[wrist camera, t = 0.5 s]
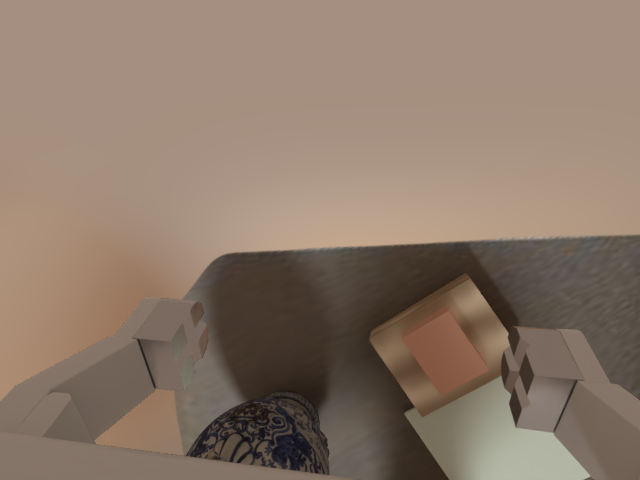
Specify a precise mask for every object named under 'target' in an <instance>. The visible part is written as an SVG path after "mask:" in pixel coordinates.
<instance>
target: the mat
mask: <svg viewBox="0 0 640 480" xmlns="http://www.w3.org/2000/svg"><path fill="white" fill-rule="evenodd" d="M510 398H511V394H510V393H509V392H508V391H507V390H506V389H505V388H504V385H503V381H502V376H500V377H498V378H496V379H495V380H493V381H491V382H489V383H487V384H485V385H483V386H481V387H479V388H477V389H476V390H474V391H472V392H470V393H468V394H466V395H464V396H462V397H460V398H458V399H457V400H455V401H453V402H451V403H449V404H447V405H445V406H443V407H441V408H439V409H438V410H436V411H434V412H432V413H430V414H428V415H426V416H424V417H421V415H420V414H419V412H418V411H417V409H416V408H415V407H413V408H411V409H410V410H408V411H406V412H404V414H405V416H406V417H407V419H408V420H409V422H410V423H411V425H412V426H413V428H414V429H415V431H416V432H417V433H418V435H419V436H420V438H421V439H422V441H423V442H424V444H425V445H426V447H427V448H428V450H429V451H430V452H431V454H432V455H433V457H434V458H435V460H436V461H437V463H438V464H439V466H440V467H441V468H442V470H443V471H444V473H445V474H446V476H447V477H448V479H449V480H583V479H586V478H588V477H590V475H589V474H588V472H587V471H586V470H585V469H584V468H583V467H582V466H581V465H580V464H579V462H578V461H577V460H576V459H575V458H574V457H573V456H572V455H571V453H570V452H569V451H568V450H567V449H566V448H565V447H564V446H563V445H562V443H561V442H560V441H559V440H558V439H557V438H556V437H555V436H554V433H551V432H543V431H536V430H529V429H521V428H516V427H515V423H514V420H513V416H512V413H511V410H510V406H509V401H510Z"/></svg>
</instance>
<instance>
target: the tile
mask: <svg viewBox="0 0 640 480" xmlns="http://www.w3.org/2000/svg"><path fill="white" fill-rule="evenodd" d="M402 340H403V341H404V343H405V344H406V345H407V347H408V348H409V350H410V351H411V353H412V354H413V356H414V357H415V358H416V360H417V361H418V363H419V364H420V366H421V367H422V369H423V370H424V372H425V373H426V374H427V376H428V377H429V379H430V380H431V382H432V383H433V385H434V386H435V388H436V389H437V390H438V392H439V393H440V395H441V396H442V395H444V394H446V393H448V392H449V391H451V390H453V389H455V388H457V387H459V386H461V385H463V384H464V383H466V382H468V381H470V380H472V379H474V378H476V377H478V376H479V375H481V374H483V373H485V372H487V371H489V368H488V366H487V364H486V362H485V360H484V359H483V357H482V356H481V354H480V353H479V352H478V350H477V349H476V347H475V346H474V344H473V343H472V342H471V340H470V339H469V337H468V336H467V334H466V333H465V331H464V330H463V329H462V327H461V326H460V324H459V323H458V321H457V320H456V318H455V317H454V316H453V314H452V313H451V311H450V310H449V308H448V307H447V306H446V307H444V308H442V309H441V310H439V311H437V312H436V313H434V314H432V315H431V316H429V317H427V318H426V319H424V320H422V321H421V322H419V323H417V324H415V325H414V326H412V327H410V328H409V329H407V330H405V331H404V332H402Z"/></svg>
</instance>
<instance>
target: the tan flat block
mask: <svg viewBox="0 0 640 480" xmlns="http://www.w3.org/2000/svg"><path fill="white" fill-rule="evenodd" d="M446 306H447V307H448V308H449V310H450V311H451V313H452V314H453V316H454V317H455V318H456V320H457V321H458V323H459V324H460V326H461V327H462V329H463V330H464V331H465V333H466V334H467V336H468V337H469V339H470V340H471V342H472V343H473V344H474V346H475V347H476V349H477V350H478V352H479V353H480V354H481V356H482V357H483V359H484V360H485V362H486V364H487V366H488V368H489V371H487V372H485V373H483V374H481V375H479V376H478V377H476V378H474V379H472V380H470V381H468V382H466V383H464V384H463V385H461V386H459V387H457V388H455V389H453V390H451V391H449V392H448V393H446V394H444V395H442V396H441V395H440V393H439V392H438V390H437V389H436V388H435V386H434V385H433V383H432V382H431V380H430V379H429V377H428V376H427V374H426V373H425V372H424V370H423V369H422V367H421V366H420V364H419V363H418V361H417V360H416V358H415V357H414V356H413V354H412V353H411V351H410V350H409V348H408V347H407V345H406V344H405V343H404V341H403V340H402V332H404V331H405V330H407V329H409V328H410V327H412V326H414V325H415V324H417V323H419V322H421V321H422V320H424V319H426V318H427V317H429V316H431V315H432V314H434V313H436V312H437V311H439V310H441V309H442V308H444V307H446ZM508 334H509V333H508V332H507V330H506V329H505V327H504V326H503V324H502V323H501V322H500V320H499V319H498V317H497V316H496V314H495V313H494V311H493V310H492V309H491V307H490V306H489V304H488V303H487V301H486V300H485V299H484V297H483V296H482V294H481V293H480V291H479V290H478V289H477V287H476V286H475V284H474V283H473V281H472V280H471V278H470V277H469V276H468V274H467V273H465V274H463V275H461V276H460V277H458V278H456V279H455V280H453V281H451V282H450V283H448V284H447V285H445V286H443V287H442V288H440V289H438V290H437V291H435V292H433V293H432V294H430V295H428V296H427V297H425V298H423V299H422V300H420V301H419V302H417V303H415V304H414V305H412V306H410V307H409V308H407V309H405V310H404V311H402V312H400V313H399V314H397V315H395V316H394V317H392V318H391V319H389V320H387V321H386V322H384V323H382V324H381V325H379V326H377V327H376V328H374V329H372V330H371V333H370V337H369V341H370V342H371V344H372V345H373V347H374V348H375V350H376V351H377V353H378V354H379V355H380V357H381V358H382V360H383V361H384V363H385V364H386V366H387V367H388V369H389V370H390V371H391V373H392V374H393V376H394V377H395V379H396V380H397V382H398V383H399V385H400V386H401V387H402V389H403V390H404V392H405V393H406V395H407V396H408V398H409V399H410V401H411V402H412V404H413V405H414V406H415V408H416V409H417V411H418V412H419V414H420V415H421V417H424V416H426V415H428V414H430V413H432V412H434V411H436V410H438V409H439V408H441V407H443V406H445V405H447V404H449V403H451V402H453V401H455V400H457V399H458V398H460V397H462V396H464V395H466V394H468V393H470V392H472V391H474V390H476V389H477V388H479V387H481V386H483V385H485V384H487V383H489V382H491V381H493V380H495V379H496V378H498V377H500V376H502V375H501V360H502V356H503V352H504V350H505V349H507V348H508V347H509V346H510V344H509V341H508Z"/></svg>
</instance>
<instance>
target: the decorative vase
mask: <svg viewBox="0 0 640 480" xmlns="http://www.w3.org/2000/svg"><path fill="white" fill-rule="evenodd" d="M327 446H328V444H327V438H326V437H325V435H324V434H323V433H322V432H321V431H320V424H319V418H318V415H317V413H316V411H315V409H314V407H313V406H312V404H311V403H310V402H309V401H308V400H307V399H306V398H304V397H303V396H301V395H299V394H297V393H294V392H290V391H278V392H274V393H271V394H270V395H268V396H267V397H265V398H262V399H256V400H252V401H248V402H245V403H242V404H240V405H238V406H236V407H234V408H232V409H230V410H228V411H227V412H225V413H223V414H222V415H220V416H219V417H218V418H216V419H215V420H214V421H213V422H212V423H211V424H210V425H209V426H208V427H207V428H206V429H205V430H204V431H203V432H202V433H201V434H200V436H199V437H198V438H197V439H196V441H195V442H194V444H193V445H192V447H191V448H190V450H189V451H188V453H187V455H186V456H189V457H196V458H204V459H211V460H219V461H226V462H233V463H241V464H248V465H256V466H263V467H271V468H278V469H286V470H293V471H301V472H308V473H316V474H324V475H330V471H329V462H328V457H329V449H328V448H327Z"/></svg>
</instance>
